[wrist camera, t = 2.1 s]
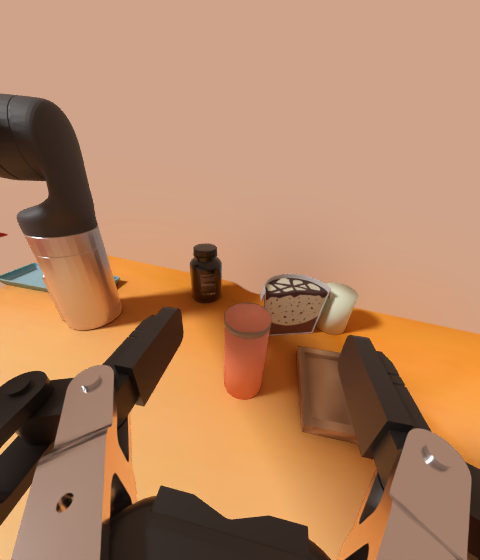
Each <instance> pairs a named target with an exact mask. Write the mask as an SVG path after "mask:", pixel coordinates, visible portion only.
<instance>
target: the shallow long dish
mask: <svg viewBox="0 0 480 560" xmlns="http://www.w3.org/2000/svg"><path fill="white" fill-rule="evenodd" d="M43 275H44V274H43V272H42V270H41V268H40V266H39V264H38V263H31V264H29V265H26V266H23V267H21V268H18V269H15V270H13V271H10V272H8V273H5V274H2V275H0V282H2V283H4V284H6V285H12V286H17V287H22V288H27V289H33V290H38V291H44V292H48V290H47V288H46V286H45V284H44V282H43V280H42V276H43ZM113 278H114V281H115V284H116V285H117V284H118V282H119V280H120V277H117V276H113Z"/></svg>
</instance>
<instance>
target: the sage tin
mask: <svg viewBox="0 0 480 560" xmlns="http://www.w3.org/2000/svg"><path fill="white" fill-rule="evenodd" d="M326 285H327V286H329V287H330V288H331V299H330V298H329V297H328V298H327V301H326V303H325V305H324V308H323V310H322V312H321V315H320V317H319V319H318V322H317V324H316V327H317V328H318V329H319V330H321V331H323V332H325V333H327V334H331V335H339V334H342V333H343V332H344V330H345V328H346V325H347V323H348V320H349V318H350V315H351V313H352V310H353V308H354V305H355V303H356V300H357V298H358V293H357V292H356V291H355V290H354V289H352V288H351V287H349V286H346V285H344V284H340V283H327V284H326Z"/></svg>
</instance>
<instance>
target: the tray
mask: <svg viewBox="0 0 480 560" xmlns="http://www.w3.org/2000/svg"><path fill="white" fill-rule="evenodd" d="M340 354H341V353H337V352H331V351H325V350H319V349H313V348H307V347H301V346H298V348H297V351H296V357H297V371H298V385H299V399H300V413H301V427H302V432H306V433H311V434H315V435H320V436H324V437H329V438H333V439H338V440H342V441H347V442H352V443H356V444H358V441H357V438H356V434H355V431H354V427H353V423H352V420H351V416H350V412H349V409H348V405H347V401H346V398H345V394H344V391H343V387H342V383H341V380H340V376H339V372H338V359H339V356H340Z"/></svg>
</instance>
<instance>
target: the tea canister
mask: <svg viewBox="0 0 480 560" xmlns="http://www.w3.org/2000/svg"><path fill="white" fill-rule="evenodd" d="M271 322H272V317H271V314H270V313H269V311H268V310H267V309H265V308H264V307H262V306H260V305H257V304H254V303H239V304H235V305H233V306H231V307H230V308H228V309H227V311H226V312H225V317H224V323H225V357H224V384H225V388H226V390H227V391H228V393H229V394H230V395H232V396H233V397H235V398H238V399H250V398H252V397H254V396H255V395H256V394H257V393H258V392H259V390H260V388H261V383H262V377H263V370H264V364H265V358H266V351H267V345H268V338H269V332H270V328H271Z"/></svg>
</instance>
